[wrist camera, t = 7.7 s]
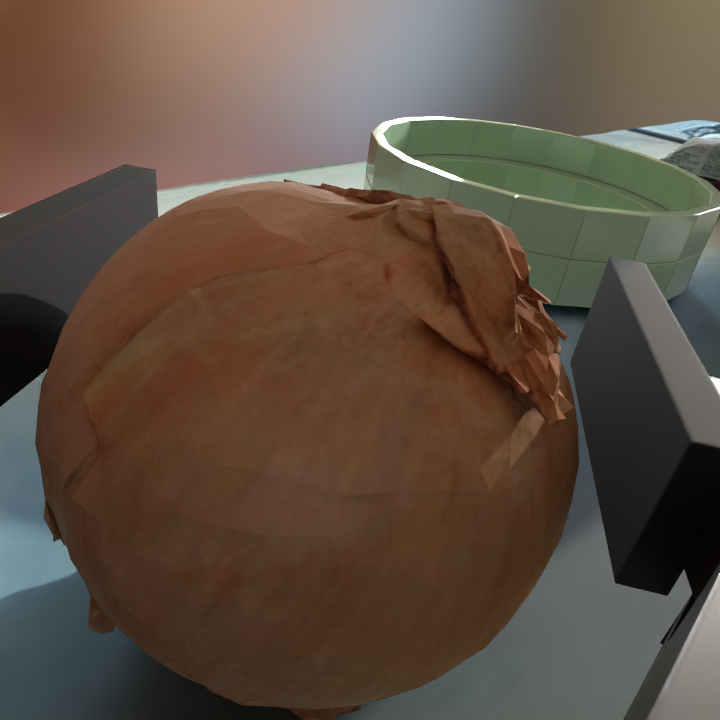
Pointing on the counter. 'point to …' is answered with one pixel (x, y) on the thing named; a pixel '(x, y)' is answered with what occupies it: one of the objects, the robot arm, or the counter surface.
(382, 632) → the onion
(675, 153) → the packaged food
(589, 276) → the bowl
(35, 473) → the counter surface
